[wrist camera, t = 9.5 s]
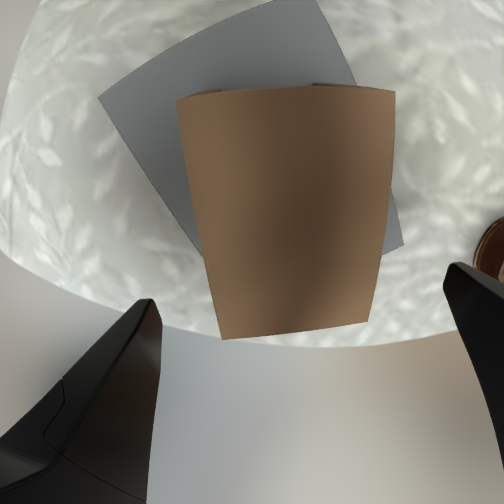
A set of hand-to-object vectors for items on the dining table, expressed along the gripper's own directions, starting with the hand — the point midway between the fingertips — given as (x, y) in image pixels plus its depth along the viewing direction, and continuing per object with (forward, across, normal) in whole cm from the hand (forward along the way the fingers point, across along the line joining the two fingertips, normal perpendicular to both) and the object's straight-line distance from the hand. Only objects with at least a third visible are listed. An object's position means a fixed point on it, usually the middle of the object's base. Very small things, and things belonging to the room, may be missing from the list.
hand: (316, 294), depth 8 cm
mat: (+11, 0, 0) cm, 11 cm away
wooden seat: (+10, 0, 0) cm, 10 cm away
